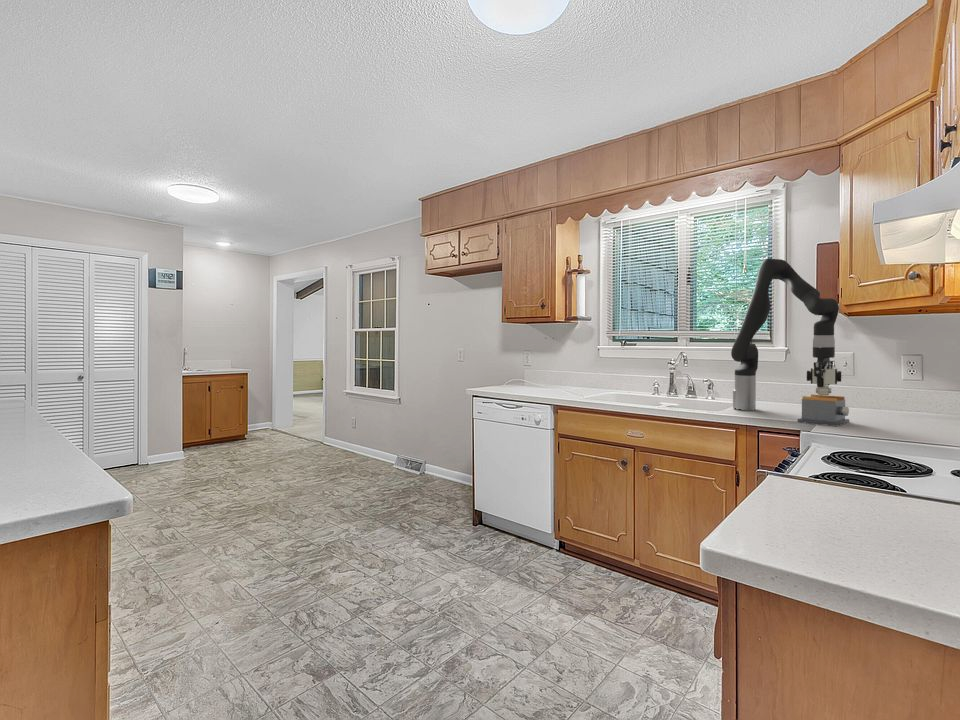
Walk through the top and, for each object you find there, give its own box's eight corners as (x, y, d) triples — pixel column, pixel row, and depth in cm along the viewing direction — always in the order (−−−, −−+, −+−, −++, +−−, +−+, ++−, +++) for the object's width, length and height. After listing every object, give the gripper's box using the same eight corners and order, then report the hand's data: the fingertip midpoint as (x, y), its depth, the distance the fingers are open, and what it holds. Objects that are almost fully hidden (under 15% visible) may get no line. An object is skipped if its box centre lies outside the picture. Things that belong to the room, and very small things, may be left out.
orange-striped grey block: (797, 421, 203) (797, 396, 202) (810, 418, 211) (811, 393, 211) (840, 426, 190) (841, 399, 190) (853, 422, 198) (853, 396, 198)
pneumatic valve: (841, 395, 195) (841, 366, 195) (806, 394, 202) (806, 366, 201) (840, 394, 200) (840, 365, 199) (806, 393, 206) (806, 365, 206)
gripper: (820, 345, 207) (819, 384, 208) (806, 346, 199) (806, 386, 200) (840, 345, 201) (840, 385, 202) (827, 346, 193) (827, 388, 193)
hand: (823, 386), depth 201 cm, fingers closed on pneumatic valve, 6 cm apart
